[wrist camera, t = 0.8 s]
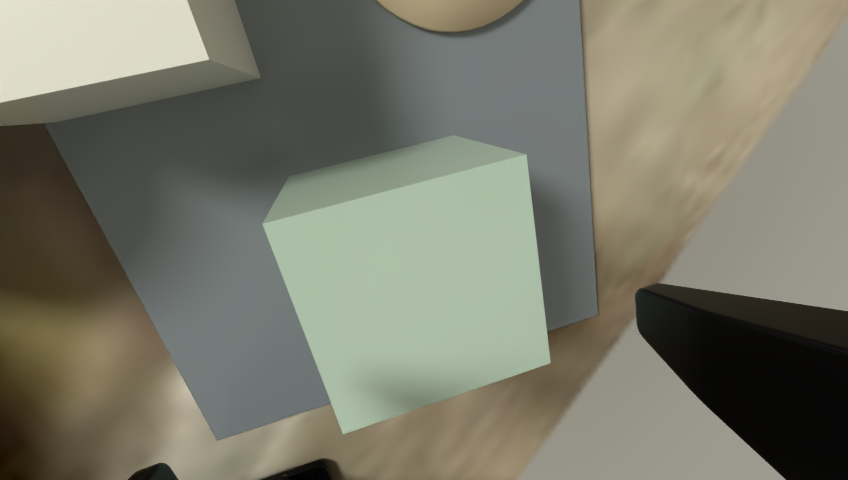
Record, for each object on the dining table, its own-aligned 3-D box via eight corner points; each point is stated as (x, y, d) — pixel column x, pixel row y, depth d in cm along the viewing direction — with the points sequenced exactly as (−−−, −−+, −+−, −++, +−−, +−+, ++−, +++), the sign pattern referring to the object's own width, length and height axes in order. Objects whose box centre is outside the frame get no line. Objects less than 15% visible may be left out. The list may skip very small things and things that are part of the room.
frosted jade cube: (479, 279, 20) (550, 363, 14) (338, 321, 19) (343, 434, 13) (453, 135, 17) (526, 154, 11) (288, 176, 16) (261, 223, 10)
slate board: (591, 309, 23) (597, 314, 22) (220, 431, 20) (216, 440, 20) (548, -335, 14) (558, -354, 13) (-158, -273, 11) (-184, -294, 10)
